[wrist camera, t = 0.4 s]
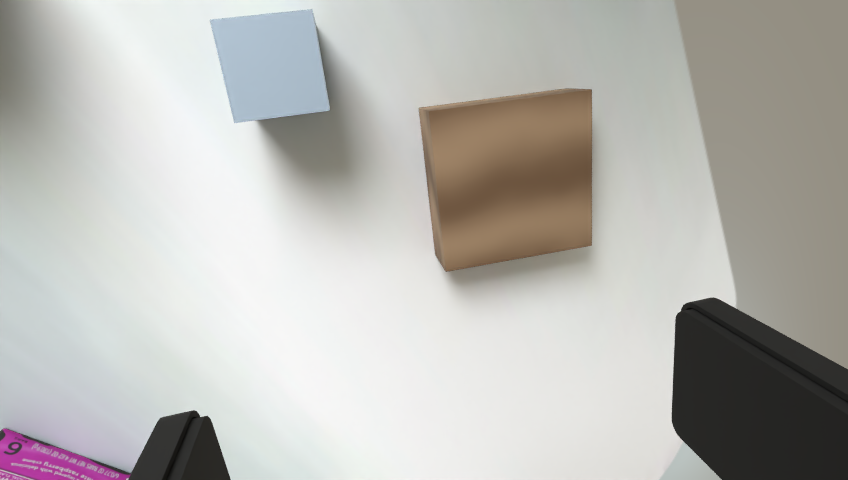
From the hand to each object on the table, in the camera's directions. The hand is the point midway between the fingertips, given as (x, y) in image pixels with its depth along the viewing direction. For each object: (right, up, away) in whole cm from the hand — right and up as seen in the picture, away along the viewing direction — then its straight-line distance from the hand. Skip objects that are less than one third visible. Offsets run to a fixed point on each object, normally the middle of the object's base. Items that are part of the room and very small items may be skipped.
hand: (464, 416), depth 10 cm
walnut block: (+5, +8, +27) cm, 29 cm away
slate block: (-10, +14, +22) cm, 28 cm away
